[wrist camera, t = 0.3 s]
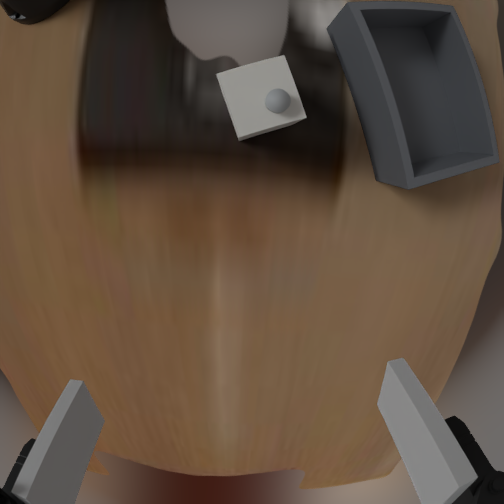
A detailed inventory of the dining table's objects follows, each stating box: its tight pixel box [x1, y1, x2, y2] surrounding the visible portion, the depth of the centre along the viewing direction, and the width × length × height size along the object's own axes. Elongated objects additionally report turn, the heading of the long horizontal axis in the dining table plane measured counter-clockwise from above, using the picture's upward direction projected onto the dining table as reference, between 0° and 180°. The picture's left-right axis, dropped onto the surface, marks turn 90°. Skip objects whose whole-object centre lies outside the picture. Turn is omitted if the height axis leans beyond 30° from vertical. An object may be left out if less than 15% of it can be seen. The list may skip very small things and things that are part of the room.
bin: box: [327, 1, 499, 190], centre depth 27 cm, size 20×15×8 cm
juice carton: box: [217, 55, 307, 141], centre depth 27 cm, size 6×6×10 cm
